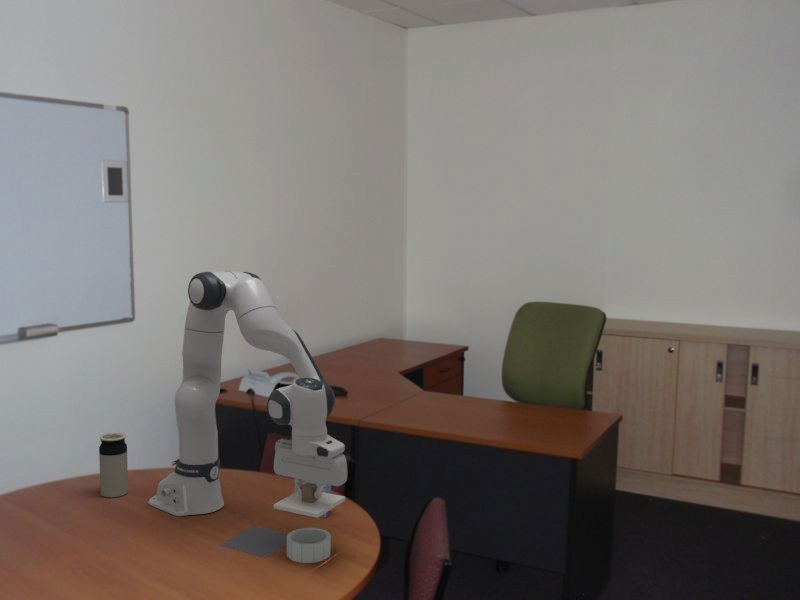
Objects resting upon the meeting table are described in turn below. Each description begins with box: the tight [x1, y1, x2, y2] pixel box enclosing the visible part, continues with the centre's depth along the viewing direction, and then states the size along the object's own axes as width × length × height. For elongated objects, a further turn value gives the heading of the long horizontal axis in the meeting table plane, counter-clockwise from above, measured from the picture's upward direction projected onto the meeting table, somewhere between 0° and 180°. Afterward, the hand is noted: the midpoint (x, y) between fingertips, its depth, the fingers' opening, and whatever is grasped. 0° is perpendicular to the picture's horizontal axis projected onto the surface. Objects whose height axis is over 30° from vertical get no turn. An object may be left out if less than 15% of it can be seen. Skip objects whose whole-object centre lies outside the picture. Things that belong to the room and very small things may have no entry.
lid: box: [273, 483, 346, 518], centre depth 210 cm, size 13×13×5 cm
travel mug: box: [98, 432, 129, 499], centre depth 251 cm, size 8×8×18 cm
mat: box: [218, 525, 289, 558], centre depth 219 cm, size 15×15×1 cm
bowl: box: [286, 527, 332, 564], centre depth 211 cm, size 11×11×5 cm
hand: (309, 496), depth 210 cm, fingers closed on lid, 3 cm apart
